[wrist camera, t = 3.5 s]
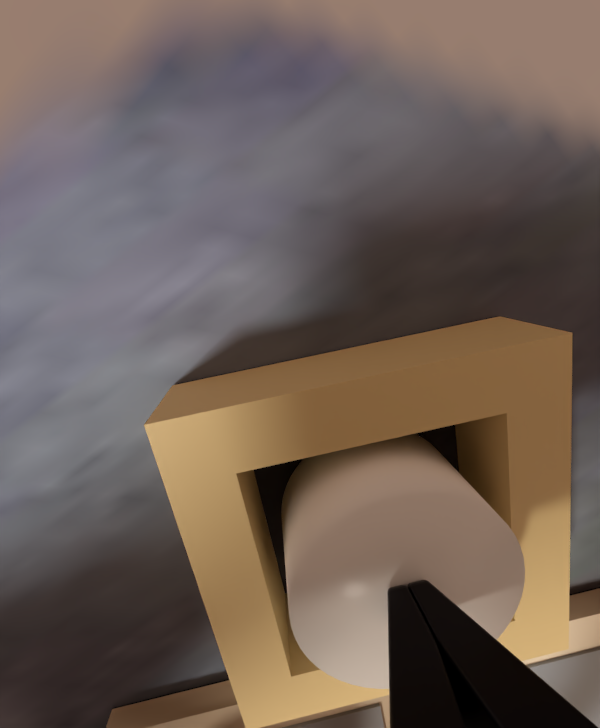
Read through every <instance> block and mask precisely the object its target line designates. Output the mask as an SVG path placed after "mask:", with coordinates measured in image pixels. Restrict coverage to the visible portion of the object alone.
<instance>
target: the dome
mask: <svg viewBox="0 0 600 728" xmlns="http://www.w3.org/2000/svg"><path fill="white" fill-rule="evenodd" d="M281 519H282V531H283V544H284V557H285V570H286V583H287V595H288V608H289V618H290V624H291V628H292V631H293V634H294V637H295V640H296V641H297V643H298V645H299V647H300V649H301V650H302V651H303V653H304V654H305V655H306V656H307V658H308V659H309V660H310V661H311V662H312V663H313V664H314V665H315V666H317V667H318V668H319V669H321V670H322V671H323V672H325V673H326V674H328V675H330V676H332V677H334V678H336V679H338V680H340V681H343V682H346V683H349V684H352V685H356V686H360V687H365V688H374V689H389V652H388V595H387V593H388V589H389V588H391V587H395V586H399V585H406V586H408V584H409V583H411V582H415V581H420V580H427V581H429V582H430V583H431V584H432V585H434V586H435V587H436V588H437V589H438V590H439V591H440V592H442V593H443V594H444V595H445V596H446V597H447V598H449V599H450V600H451V601H452V602H453V603H454V604H456V605H457V606H458V607H459V608H460V609H461V610H463V611H464V612H465V613H466V614H467V615H468V616H470V617H471V618H472V619H473V620H474V621H475V622H476V623H478V624H479V625H480V626H481V627H482V628H483V629H485V630H486V631H487V632H488V633H489V634H490V635H492V636H493V637H494V638H495V639H496V640H497V639H498V638H499V637H500V635H501V634H502V633H503V632H504V631H505V629H506V628H507V626H508V625H509V623H510V621H511V620H512V618H513V616H514V614H515V612H516V610H517V608H518V605H519V603H520V600H521V597H522V593H523V588H524V583H525V565H524V557H523V554H522V550H521V547H520V544H519V542H518V540H517V538H516V536H515V534H514V533H513V531H512V530H511V529H510V527H509V526H508V524H507V523H506V522H505V521H504V520H503V519H502V518H501V517H500V516H499V515H498V514H497V513H496V512H495V511H494V510H493V508H492V507H491V506H490V505H489V504H488V503H487V502H486V501H485V500H484V499H483V498H482V497H481V496H480V495H479V494H478V492H477V491H476V490H475V489H474V488H473V487H472V486H471V485H470V484H469V483H468V482H467V481H466V480H465V479H464V478H463V477H462V475H461V474H460V473H459V472H458V471H457V470H456V469H455V468H454V467H453V466H452V465H451V464H450V463H449V462H448V461H447V459H446V458H445V457H444V456H443V455H442V454H441V453H440V452H439V451H438V450H437V449H436V448H435V447H434V446H433V445H432V444H431V443H429V442H428V441H427V440H425V439H424V438H422V437H420V436H418V435H417V434H411V435H407V436H402V437H398V438H393V439H389V440H384V441H380V442H375V443H371V444H366V445H362V446H357V447H353V448H348V449H344V450H339V451H335V452H330V453H326V454H321V455H317V456H313V457H308V458H304V459H303V460H302V461H301V462H300V463H299V464H298V466H297V467H296V468H295V470H294V472H293V473H292V475H291V476H290V479H289V481H288V483H287V485H286V488H285V491H284V495H283V499H282V506H281Z"/></svg>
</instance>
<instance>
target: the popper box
mask: <svg viewBox="0 0 600 728" xmlns="http://www.w3.org/2000/svg"><path fill="white" fill-rule="evenodd" d="M572 337H573V333H571V332H567V331H563V330H558V329H554V328H549V327H545V326H540V325H536V324H532V323H527V322H523V321H518V320H514V319H509V318H505V317H501V316H499V317H494V318H489V319H485V320H480V321H475V322H470V323H466V324H461V325H456V326H451V327H447V328H442V329H437V330H432V331H428V332H423V333H418V334H414V335H409V336H404V337H399V338H395V339H390V340H385V341H380V342H376V343H371V344H366V345H361V346H357V347H352V348H347V349H343V350H338V351H333V352H328V353H324V354H319V355H314V356H309V357H305V358H300V359H295V360H290V361H286V362H281V363H276V364H271V365H267V366H262V367H257V368H253V369H248V370H243V371H238V372H234V373H229V374H224V375H219V376H215V377H210V378H205V379H200V380H196V381H191V382H186V383H182V384H177V385H173V386H172V387H171V388H170V390H169V391H168V392H167V394H166V395H165V397H164V398H163V399H162V401H161V402H160V404H159V405H158V406H157V408H156V409H155V410H154V412H153V413H152V415H151V416H150V417H149V419H148V420H147V422H146V423H145V424H144V426H145V429H146V432H147V435H148V438H149V441H150V444H151V447H152V450H153V453H154V456H155V459H156V462H157V465H158V468H159V471H160V474H161V477H162V480H163V483H164V486H165V489H166V492H167V495H168V498H169V501H170V504H171V507H172V510H173V513H174V516H175V519H176V522H177V525H178V528H179V531H180V534H181V537H182V540H183V543H184V546H185V549H186V552H187V555H188V558H189V561H190V564H191V567H192V570H193V573H194V575H195V578H196V581H197V584H198V587H199V590H200V593H201V596H202V599H203V602H204V605H205V608H206V611H207V614H208V617H209V620H210V623H211V626H212V629H213V632H214V635H215V638H216V641H217V644H218V647H219V650H220V653H221V656H222V659H223V662H224V665H225V668H226V671H227V674H228V677H229V680H230V683H231V686H232V689H233V692H234V695H235V698H236V701H237V704H238V707H239V710H240V713H241V716H242V719H243V722H244V725H245V728H261V727H265V726H269V725H273V724H277V723H281V722H285V721H288V720H292V719H296V718H300V717H304V716H308V715H312V714H316V713H320V712H324V711H328V710H332V709H336V708H340V707H343V706H347V705H351V704H355V703H359V702H363V701H367V700H371V699H375V698H379V697H383V696H387V695H389V689H374V688H365V687H360V686H356V685H352V684H349V683H346V682H343V681H340V680H338V679H336V678H334V677H332V676H330V675H328V674H326V673H325V672H323V671H322V670H321V669H319V668H318V667H317V666H315V665H314V664H313V663H312V662H311V661H310V660H309V659H308V658H307V656H306V655H305V654H304V653H303V651H302V650H301V649H300V647H299V645H298V643H297V641H296V640H295V637H294V634H293V631H292V628H291V624H290V618H289V608H288V595H287V593H286V594H285V591H284V587H283V583H282V579H281V575H280V571H279V567H278V563H277V559H276V556H275V552H274V548H273V544H272V540H271V536H270V532H269V528H268V524H267V520H266V516H265V512H264V509H263V505H262V501H261V497H260V493H259V489H258V485H257V481H256V477H255V473H254V469H259V468H263V467H268V466H272V465H277V464H281V463H286V462H290V461H295V460H299V459H304V458H308V457H313V456H317V455H321V454H326V453H330V452H335V451H339V450H344V449H348V448H353V447H357V446H362V445H366V444H371V443H375V442H380V441H384V440H389V439H393V438H398V437H402V436H407V435H411V434H415V433H420V432H424V431H429V430H433V429H438V428H442V427H447V426H451V425H455V431H456V443H457V455H458V467H459V473H460V474H461V475H462V477H463V478H464V479H465V480H466V481H467V482H468V483H469V484H470V485H471V486H472V487H473V488H474V489H475V490H476V491H477V492H478V494H479V495H480V496H481V497H482V498H483V499H484V500H485V501H486V502H487V503H488V504H489V505H490V506H491V507H492V508H493V510H494V511H495V512H496V513H497V514H498V515H499V516H500V517H501V518H502V519H503V520H504V521H505V522H506V523H507V524H508V526H509V527H510V529H511V530H512V531H513V533H514V534H515V536H516V538H517V540H518V542H519V544H520V547H521V550H522V554H523V557H524V565H525V583H524V588H523V593H522V597H521V600H520V603H519V605H518V608H517V610H516V612H515V614H514V616H513V618H512V620H511V621H510V623H509V625H508V626H507V628H506V629H505V631H504V632H503V633H502V634H501V635H500V637H499V638H498V639H497V641H499V642H500V643H501V644H502V645H503V646H504V647H505V648H507V649H508V650H509V651H510V652H511V653H512V654H514V655H515V656H516V657H517V658H518V659H519V660H521V661H524V660H528V659H532V658H536V657H540V656H544V655H548V654H552V653H556V652H559V651H563V650H567V649H569V590H570V505H571V421H572Z"/></svg>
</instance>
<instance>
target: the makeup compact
mask: <svg viewBox="0 0 600 728" xmlns="http://www.w3.org/2000/svg"><path fill="white" fill-rule="evenodd" d="M522 662H523V663H524V664H525V665H526V666H528V667H529V668H530V669H531V670H532V671H533V672H535V673H536V674H537V675H538V676H539V677H540V678H541V679H543V680H544V681H545V682H546V683H547V684H548V685H550V686H551V687H552V688H553V689H554V690H555V691H557V692H558V693H559V694H560V695H561V696H562V697H564V698H565V699H566V700H567V701H568V702H569V703H570V704H572V705H573V706H574V707H575V708H576V709H577V710H579V711H580V712H581V713H582V714H583V715H584V716H586V717H587V718H588V719H589V720H590V721H591V722H593V723H594V724H595V725H596V726H597V727H598V728H600V588H599V589H595V590H591V591H587V592H583V593H579V594H575V595H571V596H569V649H567V650H563V651H559V652H556V653H552V654H548V655H544V656H540V657H536V658H532V659H528V660H524V661H522ZM106 728H245V725H244V722H243V719H242V716H241V713H240V710H239V707H238V704H237V701H236V698H235V695H234V692H233V689H232V686H231V683H230V680H228V681H224V682H220V683H216V684H212V685H208V686H204V687H200V688H196V689H192V690H188V691H183V692H179V693H175V694H171V695H167V696H163V697H159V698H155V699H151V700H147V701H143V702H139V703H135V704H131V705H127V706H123V707H119V708H115V709H112V711H111V714H110V717H109V720H108V723H107V726H106ZM261 728H390V709H389V695H387V696H383V697H379V698H375V699H371V700H367V701H363V702H359V703H355V704H351V705H347V706H343V707H340V708H336V709H332V710H328V711H324V712H320V713H316V714H312V715H308V716H304V717H300V718H296V719H292V720H288V721H285V722H281V723H277V724H273V725H269V726H265V727H261Z"/></svg>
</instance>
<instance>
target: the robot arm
mask: <svg viewBox="0 0 600 728" xmlns="http://www.w3.org/2000/svg"><path fill="white" fill-rule="evenodd" d="M387 595H388V652H389V709H390V728H598V727H597V726H596V725H595V724H594V723H593V722H591V721H590V720H589V719H588V718H587V717H586V716H584V715H583V714H582V713H581V712H580V711H579V710H577V709H576V708H575V707H574V706H573V705H572V704H570V703H569V702H568V701H567V700H566V699H565V698H564V697H562V696H561V695H560V694H559V693H558V692H557V691H555V690H554V689H553V688H552V687H551V686H550V685H548V684H547V683H546V682H545V681H544V680H543V679H541V678H540V677H539V676H538V675H537V674H536V673H535V672H533V671H532V670H531V669H530V668H529V667H528V666H526V665H525V664H524V663H523V662H522V661H521V660H519V659H518V658H517V657H516V656H515V655H514V654H512V653H511V652H510V651H509V650H508V649H507V648H505V647H504V646H503V645H502V644H501V643H500V642H499V641H497V640H496V639H495V638H494V637H493V636H492V635H490V634H489V633H488V632H487V631H486V630H485V629H483V628H482V627H481V626H480V625H479V624H478V623H476V622H475V621H474V620H473V619H472V618H471V617H470V616H468V615H467V614H466V613H465V612H464V611H463V610H461V609H460V608H459V607H458V606H457V605H456V604H454V603H453V602H452V601H451V600H450V599H449V598H447V597H446V596H445V595H444V594H443V593H442V592H440V591H439V590H438V589H437V588H436V587H435V586H434V585H432V584H431V583H430V582H429V581H427V580H420V581H415V582H411V583H409V584H408V586H406V585H399V586H395V587H391V588H389V589H388V593H387Z"/></svg>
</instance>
